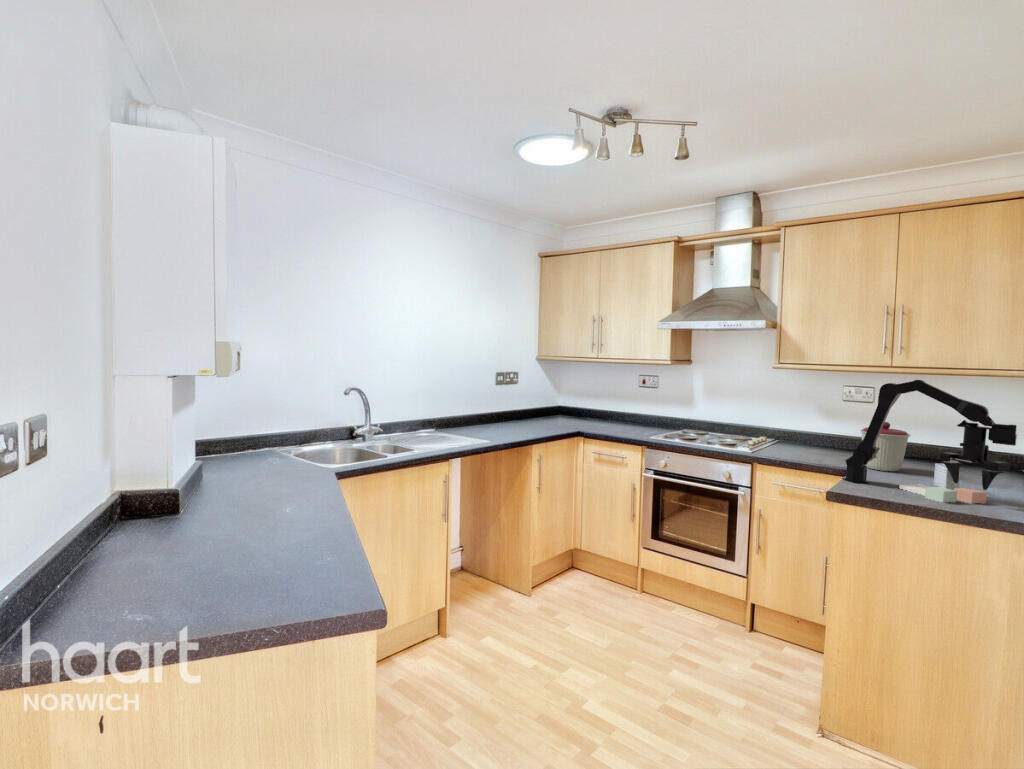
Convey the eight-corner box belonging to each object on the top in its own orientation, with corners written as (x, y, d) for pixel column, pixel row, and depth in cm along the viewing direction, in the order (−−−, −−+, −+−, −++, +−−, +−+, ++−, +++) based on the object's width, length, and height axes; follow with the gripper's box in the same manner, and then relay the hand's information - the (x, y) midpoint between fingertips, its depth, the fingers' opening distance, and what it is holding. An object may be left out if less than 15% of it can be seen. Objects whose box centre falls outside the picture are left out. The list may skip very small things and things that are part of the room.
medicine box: (959, 491, 195) (961, 468, 195) (945, 489, 196) (947, 467, 196) (946, 486, 203) (948, 463, 202) (932, 485, 204) (934, 462, 203)
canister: (883, 474, 221) (887, 424, 220) (847, 465, 239) (850, 419, 238) (918, 473, 225) (922, 425, 224) (880, 465, 243) (884, 419, 242)
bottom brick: (971, 504, 177) (972, 492, 176) (953, 499, 183) (954, 487, 182) (985, 503, 178) (986, 492, 178) (967, 499, 184) (968, 487, 183)
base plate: (925, 496, 185) (926, 491, 185) (899, 488, 194) (899, 484, 194) (948, 495, 187) (948, 491, 187) (920, 488, 197) (920, 484, 197)
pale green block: (942, 503, 176) (943, 491, 176) (924, 498, 182) (925, 487, 182) (956, 502, 178) (957, 491, 178) (937, 498, 184) (938, 486, 183)
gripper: (1024, 446, 172) (1019, 493, 173) (963, 437, 190) (959, 479, 191) (998, 446, 169) (993, 493, 170) (939, 436, 187) (935, 480, 188)
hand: (970, 486), depth 180 cm, fingers open, 9 cm apart
